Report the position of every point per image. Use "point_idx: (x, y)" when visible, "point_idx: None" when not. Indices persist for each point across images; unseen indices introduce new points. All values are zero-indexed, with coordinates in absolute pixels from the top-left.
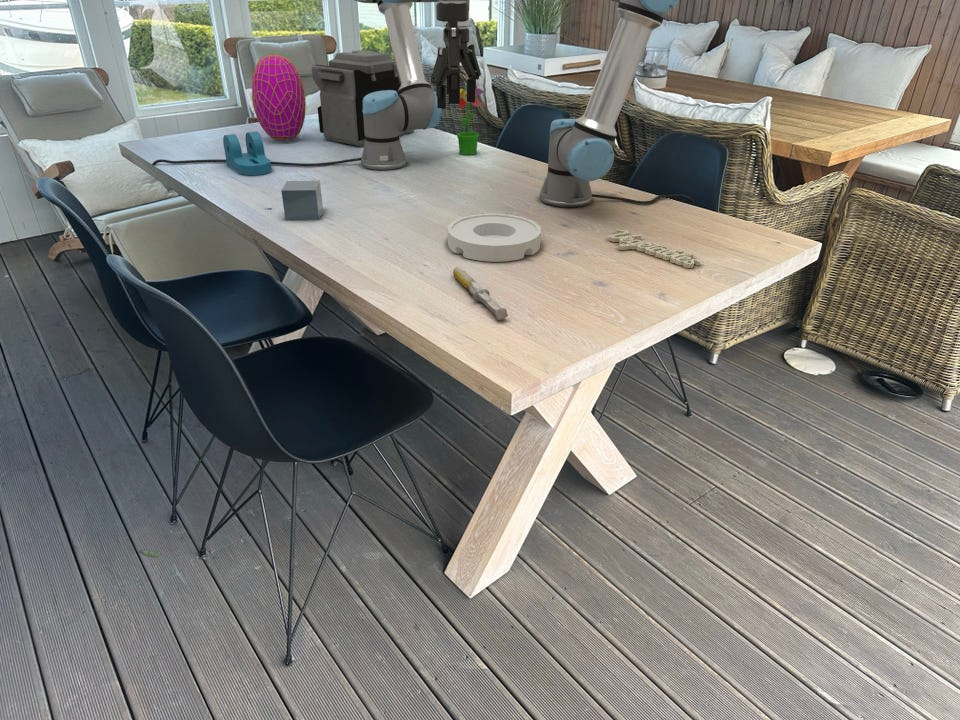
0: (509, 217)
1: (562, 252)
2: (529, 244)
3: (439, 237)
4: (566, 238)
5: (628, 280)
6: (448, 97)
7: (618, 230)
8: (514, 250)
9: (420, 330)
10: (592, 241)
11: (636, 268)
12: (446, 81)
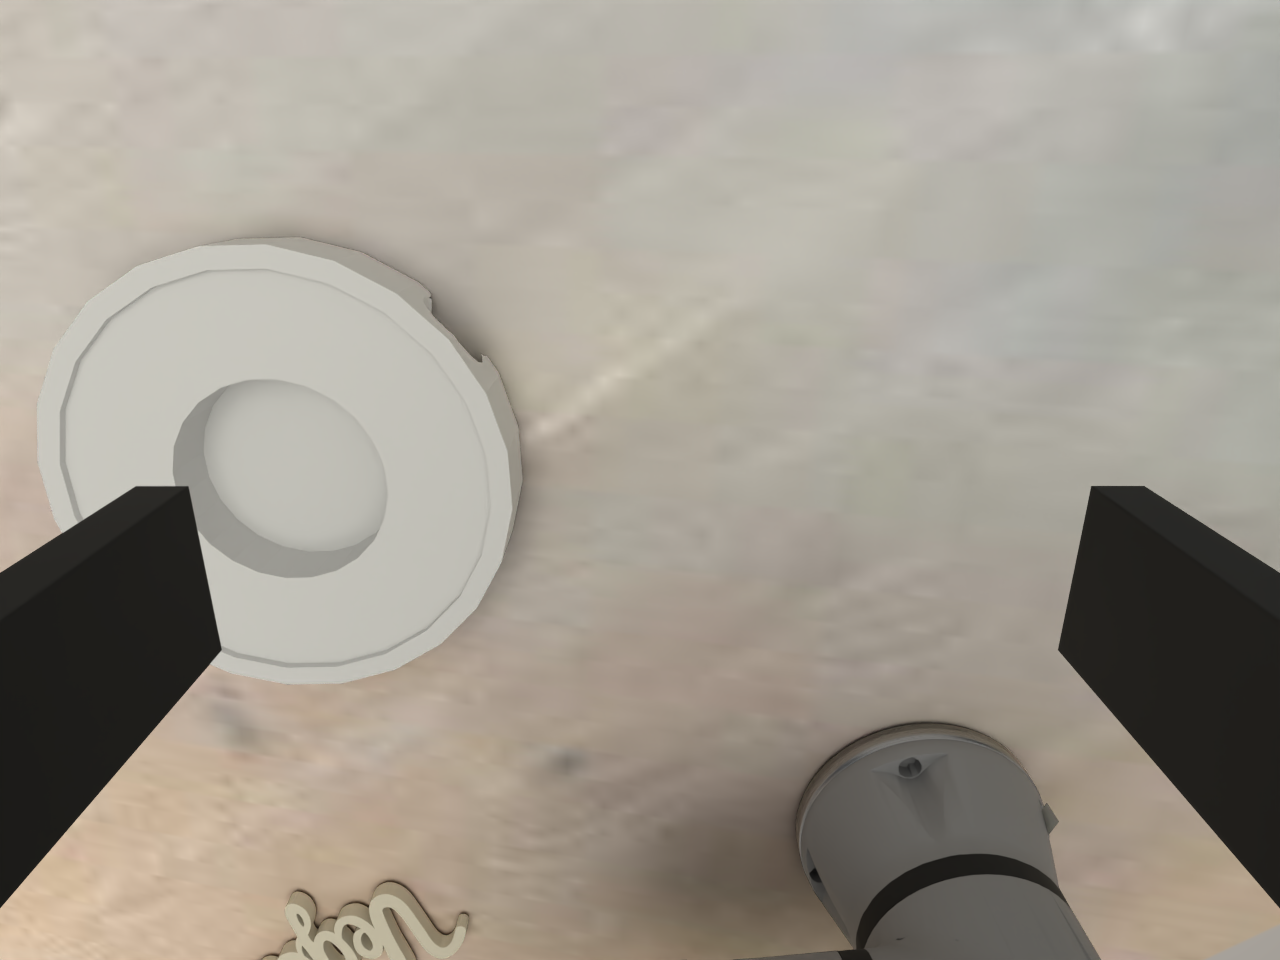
0: (473, 570)
1: (250, 710)
2: None
3: (392, 194)
4: (410, 747)
5: None
6: (110, 524)
7: (455, 931)
8: None
9: None
10: (382, 826)
11: (128, 902)
12: (1275, 581)
